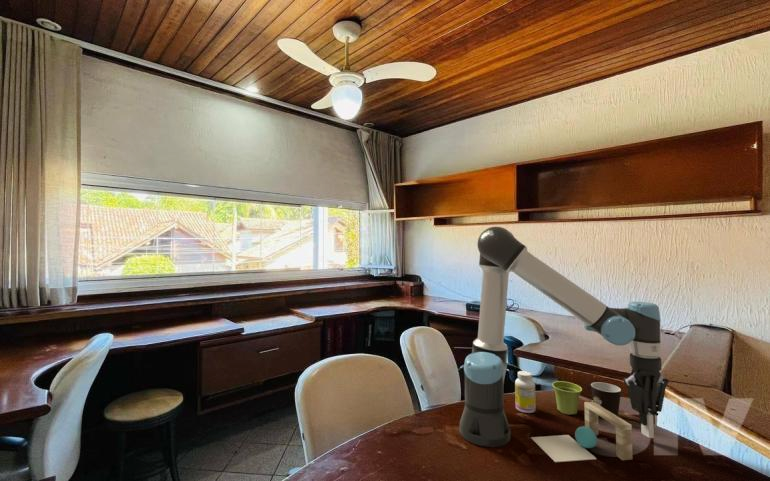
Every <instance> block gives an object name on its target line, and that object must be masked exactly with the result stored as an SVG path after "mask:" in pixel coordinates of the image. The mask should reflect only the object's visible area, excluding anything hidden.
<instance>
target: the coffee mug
mask: <svg viewBox="0 0 770 481" xmlns="http://www.w3.org/2000/svg"><path fill="white" fill-rule="evenodd" d="M589 387H590V388H591V392H590V389H589ZM586 390H587V393H588V395H589V396H590V398H591V399H592V402H595V403H596V404H598V405H600V406H601V407H603V408H605V409H606V410H608V411H609V412H611V413H613V414H614V415H616V416H618V417H619V411H620V402H621V393H622V389H621V388H620V387H619V386H617V385H615V384H611V383H607V382H600V381H599V382H597V381H596V382H595V381H594V382H591V383H588V384H586ZM598 419H600V420H603V421H605V422H606V421H607V420H605V419H604V418H602V417H601V416H599V415H598ZM607 422H608V421H607Z"/></svg>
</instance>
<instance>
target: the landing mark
mask: <svg viewBox="0 0 770 481" xmlns="http://www.w3.org/2000/svg"><path fill="white" fill-rule="evenodd" d="M530 439H531V440H532V441H533V442H535V444H536V445H537V446H539V448H540V449H541V450H542V451H543V452H544V453H545V454H546V455H547V456H549V458H551V460H553V462H554V463H562V462H563V463H565V462H578V461H590V460H597V459H598V458H596V456H595V455H593V454H592V453H590V451H588V450H587V448H585V447H583V446H581V445H580V444H579V443H578V442H577V440H576V439H574V438H573V437H571V436H570V435H569V434H562V435H548V436H546V435H545V436H532V437H530Z"/></svg>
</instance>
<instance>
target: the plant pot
mask: <svg viewBox="0 0 770 481" xmlns="http://www.w3.org/2000/svg"><path fill="white" fill-rule="evenodd" d="M551 386H552V388H553V391H554V393H555V400H556V408H557V410H558V411H559V412H560V413H562V414H564V415H568V416H569V415H577V413H578V408H579V401H580V395H581V393H582V391H583V388H582V387H581V386H580V385H578V384H575V383H573V382H569V381H563V380H562V381H561V380H559V381H554V382H552V384H551Z"/></svg>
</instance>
